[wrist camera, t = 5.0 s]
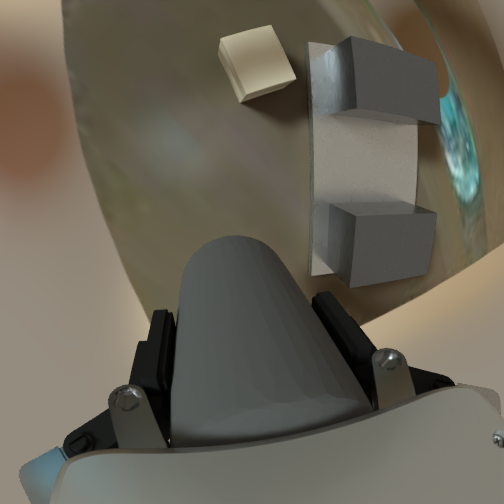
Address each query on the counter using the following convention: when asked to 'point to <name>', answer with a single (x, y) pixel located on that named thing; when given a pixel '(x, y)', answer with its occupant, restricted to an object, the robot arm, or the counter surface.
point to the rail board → (368, 161)
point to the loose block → (255, 63)
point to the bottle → (252, 353)
